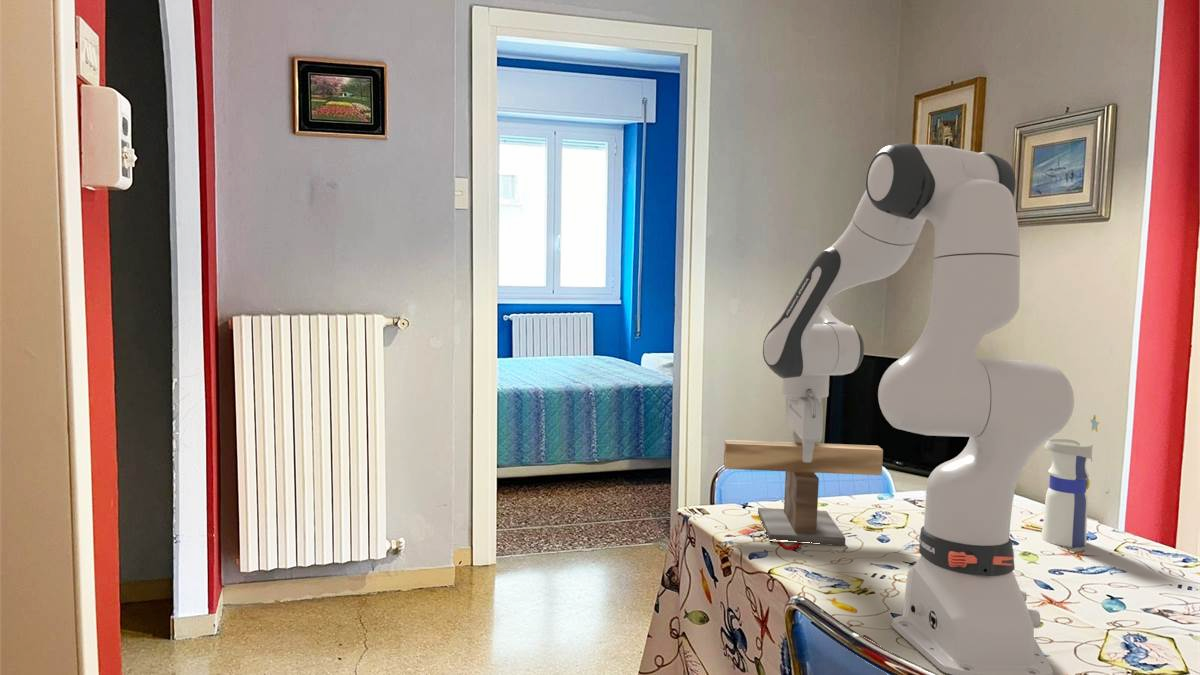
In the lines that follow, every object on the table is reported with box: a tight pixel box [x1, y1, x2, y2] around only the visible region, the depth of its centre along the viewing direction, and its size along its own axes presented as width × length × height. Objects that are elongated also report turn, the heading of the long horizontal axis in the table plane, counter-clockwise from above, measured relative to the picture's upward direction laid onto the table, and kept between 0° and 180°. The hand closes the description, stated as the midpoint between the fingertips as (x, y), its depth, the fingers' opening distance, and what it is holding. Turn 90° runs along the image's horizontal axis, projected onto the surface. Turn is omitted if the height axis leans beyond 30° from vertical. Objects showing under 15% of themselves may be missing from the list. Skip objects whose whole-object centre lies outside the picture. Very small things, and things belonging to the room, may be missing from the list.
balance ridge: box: [757, 471, 846, 546], centre depth 166 cm, size 18×14×12 cm
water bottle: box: [1041, 414, 1100, 548], centre depth 163 cm, size 8×9×25 cm
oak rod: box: [723, 439, 884, 476], centre depth 165 cm, size 4×30×5 cm, turn 86°
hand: (802, 456), depth 165 cm, fingers open, 8 cm apart
